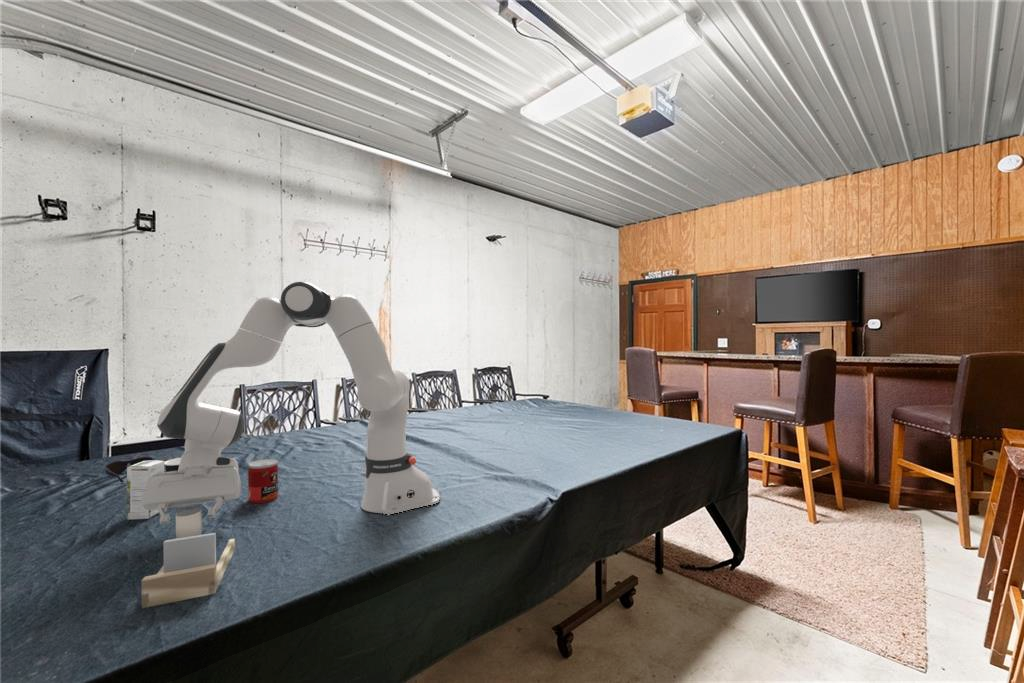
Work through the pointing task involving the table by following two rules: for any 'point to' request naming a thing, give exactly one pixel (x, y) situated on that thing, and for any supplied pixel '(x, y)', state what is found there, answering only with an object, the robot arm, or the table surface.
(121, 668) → the table surface
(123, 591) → the table surface
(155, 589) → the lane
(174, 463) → the dixie cup
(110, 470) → the sunglasses
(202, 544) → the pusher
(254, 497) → the canned food
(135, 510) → the syrup box
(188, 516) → the jar
